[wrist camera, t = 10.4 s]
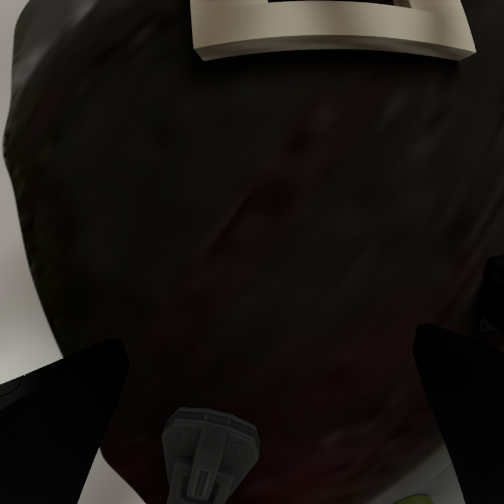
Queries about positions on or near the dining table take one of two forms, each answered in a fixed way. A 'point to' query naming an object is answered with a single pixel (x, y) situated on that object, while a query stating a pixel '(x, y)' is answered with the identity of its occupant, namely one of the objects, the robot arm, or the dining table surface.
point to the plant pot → (416, 500)
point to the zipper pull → (207, 454)
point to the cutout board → (330, 27)
